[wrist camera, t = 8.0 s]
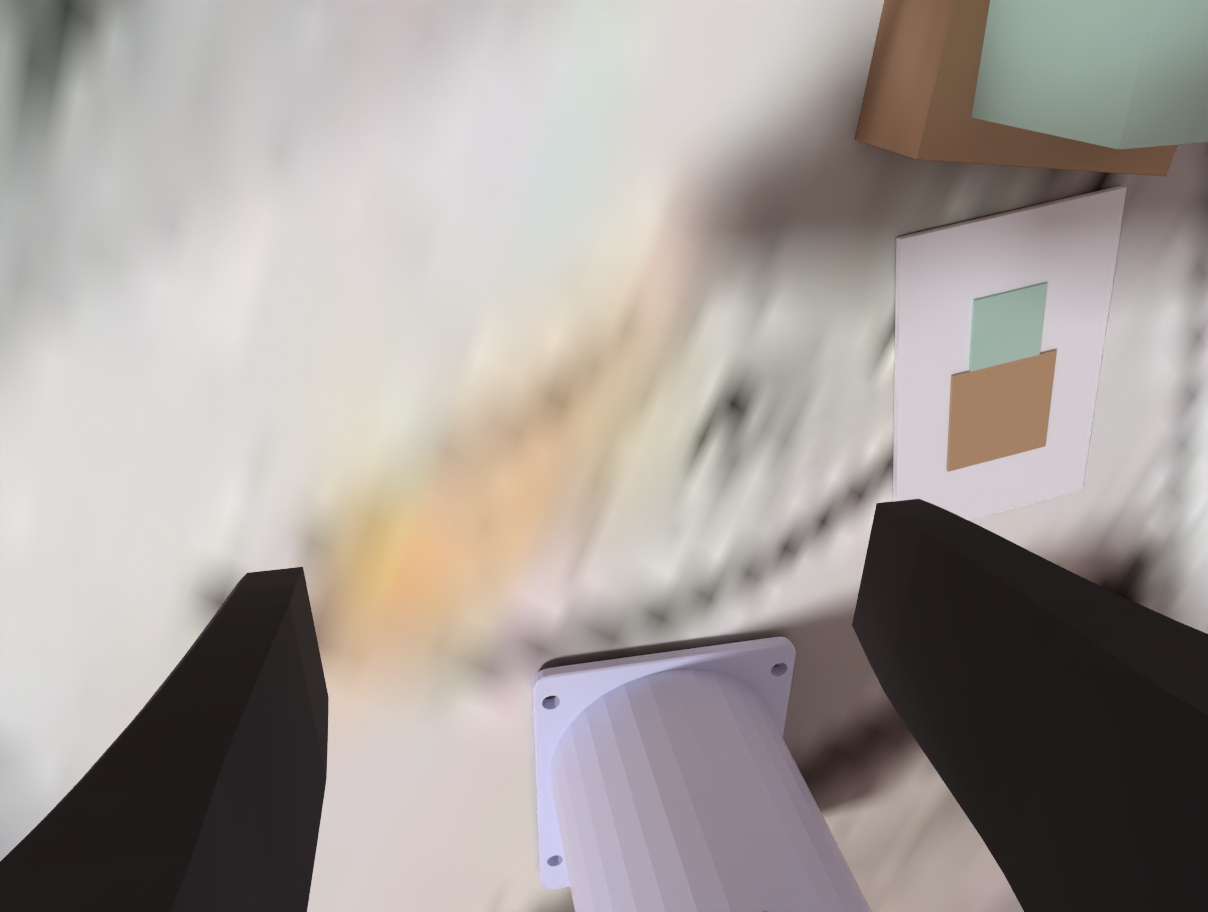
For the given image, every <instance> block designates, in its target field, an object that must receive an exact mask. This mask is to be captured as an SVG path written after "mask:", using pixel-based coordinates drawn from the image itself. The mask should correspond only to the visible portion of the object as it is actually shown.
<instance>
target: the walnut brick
mask: <svg viewBox="0 0 1208 912" xmlns="http://www.w3.org/2000/svg"><path fill="white" fill-rule="evenodd" d="M989 4H990V0H884V5H883V9H882V14H881V19H880V23H879V28H878V33H877V37H876V42H875V47H874V51H873V56H872V61H871V65H870V70H869V75H868V79H867V84H866V89H865V94H864V98H863V103H862V108H861V112H860V117H859V122H858V126H857V131H856V136H855V140H858V141H861V142H864V143H867V144H870V145H873V146H877V147H880V148H883V149H886V150H889V151H892V152H895V153H898V154H901V155H904V156H908V157H911V158H914V159H918V160H932V161H947V162H962V163H977V164H992V165H1006V166H1021V167H1036V168H1051V169H1065V170H1080V171H1095V172H1110V173H1124V174H1139V175H1154V176H1166V174H1167V171H1168V168H1169V166H1170V163H1171V160H1172V158H1173V155H1174V152H1175V150H1176V147H1177V145H1167V146H1155V147H1143V148H1131V149H1119V150H1118V149H1114V148H1109V147H1105V146H1100V145H1095V144H1091V143H1086V142H1082V141H1077V140H1073V139H1068V138H1063V137H1059V136H1054V135H1050V134H1045V133H1040V132H1036V131H1031V130H1027V129H1022V128H1017V127H1013V126H1008V125H1004V124H999V123H994V122H990V121H985V120H981V119H976V118H972V110H973V104H974V98H975V92H976V85H977V79H978V73H979V67H980V60H981V54H982V48H983V42H984V35H985V29H986V23H987V17H988V10H989Z"/></svg>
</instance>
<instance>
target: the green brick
mask: <svg viewBox="0 0 1208 912" xmlns="http://www.w3.org/2000/svg"><path fill="white" fill-rule="evenodd" d="M972 118H976V119H981V120H985V121H990V122H994V123H999V124H1004V125H1008V126H1013V127H1017V128H1022V129H1027V130H1031V131H1036V132H1040V133H1045V134H1050V135H1054V136H1059V137H1063V138H1068V139H1073V140H1077V141H1082V142H1086V143H1091V144H1095V145H1100V146H1105V147H1109V148H1114V149H1118V150H1119V149H1131V148H1143V147H1155V146H1167V145H1179V144H1191V143H1203V142H1208V0H990V4H989V10H988V17H987V23H986V29H985V35H984V42H983V48H982V54H981V60H980V67H979V73H978V79H977V85H976V92H975V98H974V104H973V110H972Z"/></svg>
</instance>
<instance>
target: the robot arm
mask: <svg viewBox="0 0 1208 912" xmlns="http://www.w3.org/2000/svg"><path fill="white" fill-rule="evenodd" d="M852 626H853V628H854V630H855V632H856V634H857V637H858V639H859V641H860V643H861V645H862V647H863V650H864V652H865V654H866V656H867V658H868V660H869V662H870V664H871V666H872V668H873V670H874V672H875V674H876V676H877V678H878V680H879V682H880V684H881V686H882V688H883V690H884V692H885V693H886V695H887V697H888V698H889V700H890V701H891V703H892V704H893V706H894V708H895V709H896V711H897V712H898V714H899V715H900V717H901V718H902V720H903V721H904V723H905V724H906V726H907V727H908V729H909V730H910V732H911V733H912V735H913V736H914V738H915V739H916V741H917V742H918V744H919V745H920V747H921V748H922V750H923V751H924V753H925V754H926V756H927V757H928V759H929V760H930V762H931V763H932V765H933V766H934V768H935V769H936V771H937V772H938V774H939V775H940V777H941V778H942V780H943V781H944V783H945V784H946V786H947V787H948V789H949V790H950V791H951V793H952V794H953V796H954V797H955V799H956V800H957V802H958V803H959V805H960V806H961V808H962V809H963V811H964V812H965V814H966V815H967V817H968V818H969V820H970V821H971V823H972V824H973V826H974V827H975V829H976V830H977V832H978V833H979V835H980V836H981V838H982V839H983V841H984V842H985V844H986V846H987V847H988V849H989V850H990V852H991V854H992V855H993V857H994V859H995V860H996V862H997V863H998V865H999V867H1000V868H1001V870H1002V872H1003V873H1004V875H1005V877H1006V879H1007V880H1008V882H1009V884H1010V886H1011V888H1012V890H1013V892H1014V893H1015V895H1016V897H1017V899H1018V901H1019V903H1020V905H1021V906H1022V908H1023V910H1024V912H1208V634H1206V633H1204V632H1201V631H1199V630H1196V629H1194V628H1192V627H1189V626H1187V625H1184V624H1182V623H1180V622H1177V621H1175V620H1173V619H1171V618H1169V617H1166V616H1164V615H1162V614H1160V613H1157V612H1155V611H1153V610H1151V609H1149V608H1146V607H1144V606H1142V605H1140V604H1137V603H1135V602H1133V601H1131V600H1129V599H1126V598H1124V597H1122V596H1120V595H1118V594H1116V593H1113V592H1111V591H1109V590H1107V589H1105V588H1103V587H1101V586H1099V585H1097V584H1095V583H1092V582H1090V581H1088V580H1086V579H1084V578H1082V577H1080V576H1078V575H1076V574H1074V573H1072V572H1070V571H1068V570H1066V569H1064V568H1062V567H1060V566H1058V565H1056V564H1054V563H1052V562H1050V561H1048V560H1046V559H1044V558H1042V557H1040V556H1038V555H1036V554H1034V553H1032V552H1030V551H1028V550H1026V549H1024V548H1022V547H1020V546H1018V545H1016V544H1014V543H1012V542H1010V541H1008V540H1006V539H1004V538H1002V537H1000V536H999V535H997V534H995V533H993V532H991V531H989V530H987V529H985V528H983V527H981V526H979V525H977V524H975V523H972V522H970V521H968V520H966V519H964V518H962V517H960V516H958V515H956V514H954V513H952V512H950V511H947V510H945V509H943V508H941V507H938V506H936V505H934V504H931V503H929V502H926V501H924V500H921V499H912V500H903V501H894V502H885V503H877V505H876V510H875V515H874V520H873V525H872V530H871V535H870V539H869V544H868V549H867V554H866V559H865V564H864V569H863V574H862V579H861V584H860V589H859V594H858V599H857V604H856V609H855V614H854V619H853V623H852ZM795 656H796V650H795V648H794V646H793V644H792V643H791V641H790V640H789V639H788V638H786V637H772V638H765V639H758V640H750V641H743V642H736V643H728V644H721V645H714V646H706V647H699V648H692V649H684V650H677V651H670V652H662V653H655V654H648V655H640V656H633V657H626V658H618V659H611V660H603V661H596V662H589V663H581V664H574V665H567V666H559V667H552V668H547V669H543V670H541V671H540V672H538V673H537V674H536V675H535V676H534V678H533V680H532V701H533V727H534V753H535V778H536V804H537V830H538V855H539V876H540V882H541V885H542V886H543V887H545V888H547V889H559V888H564V887H570V888H571V893H572V898H573V903H574V909H575V912H872V911H871V909H870V907H869V905H868V903H867V901H866V899H865V898H864V896H863V894H862V892H861V890H860V888H859V886H858V884H857V882H856V880H855V878H854V876H853V874H852V872H851V870H850V868H849V866H848V864H847V862H846V860H845V858H844V857H843V855H842V853H841V851H840V849H839V847H838V845H837V843H836V841H835V839H834V837H833V835H832V833H831V831H830V829H829V827H828V825H827V823H826V821H825V819H824V817H823V816H822V814H821V812H820V810H819V808H818V806H817V804H816V802H815V800H814V798H813V796H812V794H811V792H810V790H809V788H808V786H807V784H806V782H805V780H804V778H803V777H802V775H801V773H800V771H799V769H798V767H797V765H796V763H795V761H794V759H793V757H792V755H791V753H790V751H789V749H788V747H787V745H786V743H785V741H784V739H783V734H784V728H785V721H786V715H787V708H788V702H789V695H790V689H791V682H792V676H793V669H794V663H795ZM779 663H781V664H779ZM776 664H779V665H778V666H776V667H774V666H775V665H776ZM772 667H774V668H772ZM548 696H555V697H554V698H553V699H550V700H547V699H545V698H546V697H548ZM327 742H328V693H327V688H326V683H325V678H324V673H323V668H322V663H321V658H320V652H319V647H318V642H317V637H316V632H315V627H314V622H313V617H312V612H311V607H310V602H309V596H308V591H307V586H306V581H305V576H304V571H303V567H298V568H289V569H280V570H271V571H261V572H252V573H247V574H246V575H245V576H244V577H243V578H242V579H241V580H240V581H239V582H238V584H237V585H236V586H235V588H234V589H233V591H232V592H231V593H230V595H229V596H228V597H227V599H226V600H225V602H224V603H223V604H222V606H221V607H220V609H219V610H218V611H217V613H216V614H215V615H214V617H213V618H212V620H211V621H210V622H209V624H208V625H207V626H206V628H205V629H204V630H203V632H202V633H201V634H200V636H199V637H198V638H197V640H196V641H195V642H194V644H193V645H192V646H191V648H190V649H189V650H188V652H187V653H186V654H185V656H184V657H183V658H182V660H181V661H180V662H179V664H178V665H177V666H176V667H175V669H174V670H173V671H172V672H171V674H170V675H169V676H168V677H167V679H166V680H165V681H164V682H163V684H162V685H161V686H160V687H159V689H158V690H157V691H156V692H155V694H154V695H153V696H152V698H151V699H150V700H149V701H148V703H147V704H146V705H145V706H144V708H143V709H142V710H141V711H140V712H139V714H138V715H137V716H136V717H135V718H134V720H133V721H132V722H131V723H130V724H129V725H128V727H127V728H126V729H125V730H124V731H123V732H122V733H121V734H120V736H119V737H118V738H117V739H116V740H115V741H114V742H113V744H112V745H111V746H110V747H109V748H108V749H107V750H106V752H105V753H104V754H103V755H102V756H101V757H100V758H99V760H98V761H97V762H96V763H95V764H94V765H93V766H92V767H91V769H90V770H89V771H88V772H87V773H86V774H85V775H84V777H83V778H82V779H81V780H80V781H79V782H78V783H77V784H76V785H75V786H74V788H73V789H72V790H71V791H70V792H69V793H68V794H67V795H66V796H65V797H64V798H63V799H62V800H61V801H60V802H59V803H58V804H57V805H56V807H55V808H54V809H53V810H52V811H51V812H50V813H49V814H48V815H47V816H46V817H45V818H44V819H43V820H42V821H41V822H40V823H39V824H38V825H37V826H36V827H35V828H34V829H33V830H32V831H31V832H30V833H29V834H28V835H27V836H26V837H25V838H24V839H23V840H22V841H21V842H20V843H19V844H18V845H17V846H16V847H15V848H14V849H13V850H12V851H11V852H10V853H9V854H8V855H7V856H6V857H5V858H4V859H3V860H2V861H1V862H0V912H307V906H308V900H309V893H310V886H311V880H312V873H313V866H314V860H315V853H316V846H317V840H318V833H319V826H320V819H321V812H322V805H323V798H324V791H325V784H326V771H327Z"/></svg>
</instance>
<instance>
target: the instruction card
mask: <svg viewBox="0 0 1208 912" xmlns="http://www.w3.org/2000/svg"><path fill="white" fill-rule="evenodd" d="M1126 190H1127V187H1124V186H1117V187H1113V188H1109V189H1104V190H1100V191H1096V192H1091V193H1087V194H1082V195H1078V196H1074V197H1069V198H1065V199H1061V200H1056V201H1052V202H1048V203H1043V204H1039V205H1035V206H1030V207H1026V208H1022V209H1017V210H1013V211H1009V212H1004V213H1000V214H996V215H991V216H987V217H983V218H978V219H974V220H969V221H965V222H961V223H956V224H952V225H948V226H943V227H939V228H935V229H930V230H926V231H922V232H917V233H913V234H909V235H904V236H900V237H896V310H895V387H894V464H893V502H894V501H903V500H912V499H921V500H924V501H926V502H929V503H931V504H934V505H936V506H938V507H941V508H943V509H945V510H947V511H950V512H952V513H954V514H956V515H958V516H960V517H962V518H964V519H966V520H968V521H969V520H972V519H976V518H980V517H984V516H987V515H991V514H995V513H998V512H1002V511H1006V510H1010V509H1013V508H1017V507H1021V506H1025V505H1028V504H1032V503H1036V502H1039V501H1043V500H1047V499H1051V498H1054V497H1058V496H1062V495H1066V494H1069V493H1073V492H1077V491H1080V490H1083V483H1084V476H1085V469H1086V462H1087V456H1088V449H1089V442H1090V435H1091V428H1092V422H1093V415H1094V408H1095V401H1096V394H1097V388H1098V381H1099V374H1100V367H1101V360H1102V354H1103V347H1104V340H1105V333H1106V326H1107V319H1108V313H1109V306H1110V299H1111V292H1112V285H1113V279H1114V272H1115V265H1116V258H1117V251H1118V245H1119V238H1120V231H1121V224H1122V217H1123V211H1124V204H1125V197H1126Z"/></svg>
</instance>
